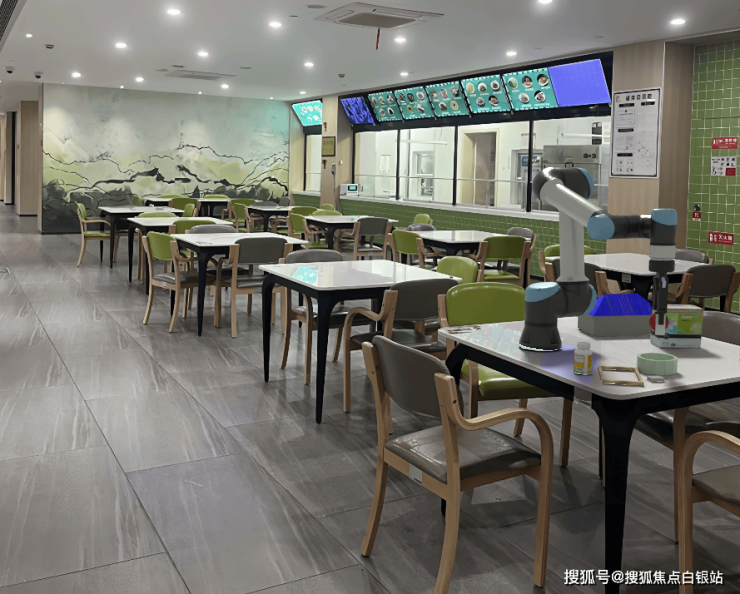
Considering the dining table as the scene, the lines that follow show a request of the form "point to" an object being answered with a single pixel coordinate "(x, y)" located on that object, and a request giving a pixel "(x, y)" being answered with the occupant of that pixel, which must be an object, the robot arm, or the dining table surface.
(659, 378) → the stone
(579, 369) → the supplement bottle
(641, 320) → the house
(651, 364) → the bowl
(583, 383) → the dining table surface
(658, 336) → the tea box
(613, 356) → the dining table surface
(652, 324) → the onion
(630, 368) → the picture frame
